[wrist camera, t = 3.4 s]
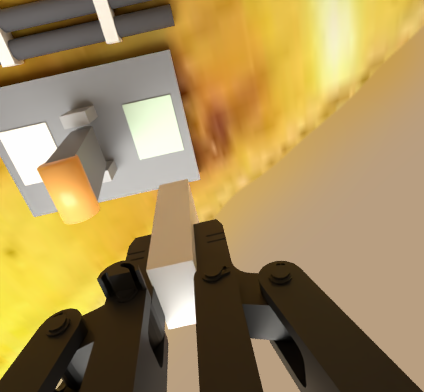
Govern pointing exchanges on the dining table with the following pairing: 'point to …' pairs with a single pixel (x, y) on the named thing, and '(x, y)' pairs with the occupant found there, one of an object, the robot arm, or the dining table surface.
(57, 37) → the dressed cords
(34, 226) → the dining table surface
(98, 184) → the breaker lever
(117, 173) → the breaker panel
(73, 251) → the dining table surface
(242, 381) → the robot arm
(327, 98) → the dining table surface
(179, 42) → the dining table surface
